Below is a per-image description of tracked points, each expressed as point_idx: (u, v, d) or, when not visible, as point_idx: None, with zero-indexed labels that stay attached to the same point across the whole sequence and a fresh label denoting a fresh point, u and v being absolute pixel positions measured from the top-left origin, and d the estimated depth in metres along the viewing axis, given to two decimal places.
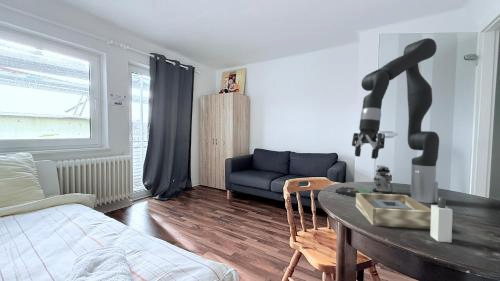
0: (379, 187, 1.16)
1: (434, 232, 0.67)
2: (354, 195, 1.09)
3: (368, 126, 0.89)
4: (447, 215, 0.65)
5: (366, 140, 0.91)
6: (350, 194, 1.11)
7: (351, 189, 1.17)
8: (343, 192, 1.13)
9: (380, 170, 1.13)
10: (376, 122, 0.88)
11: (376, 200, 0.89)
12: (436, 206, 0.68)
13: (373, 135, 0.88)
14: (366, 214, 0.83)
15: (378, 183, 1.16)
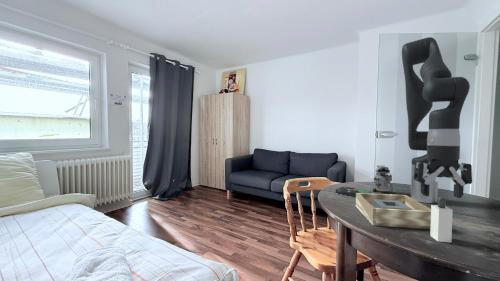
0: (379, 187, 1.16)
1: (434, 232, 0.67)
2: (354, 195, 1.10)
3: (458, 155, 0.63)
4: (447, 215, 0.65)
5: (446, 174, 0.65)
6: (350, 194, 1.11)
7: (351, 189, 1.17)
8: (343, 192, 1.13)
9: (380, 170, 1.13)
10: None
11: (376, 200, 0.89)
12: (436, 206, 0.68)
13: (458, 167, 0.65)
14: (366, 214, 0.83)
15: (378, 183, 1.16)
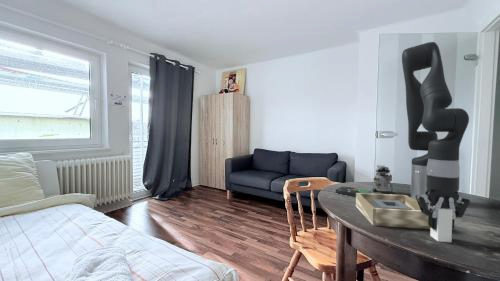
0: (379, 187, 1.16)
1: (434, 232, 0.67)
2: (354, 195, 1.10)
3: (458, 187, 0.63)
4: (447, 215, 0.65)
5: (443, 202, 0.66)
6: (350, 194, 1.11)
7: (351, 189, 1.17)
8: (343, 192, 1.14)
9: (380, 170, 1.13)
10: None
11: (376, 200, 0.89)
12: None
13: (457, 197, 0.65)
14: (366, 214, 0.83)
15: (378, 183, 1.16)
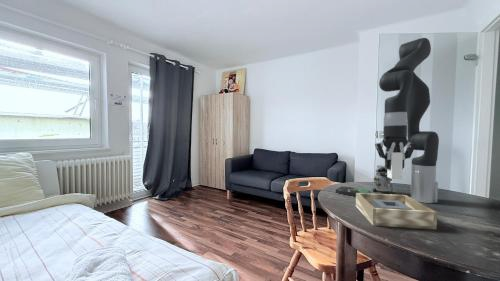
0: (379, 187, 1.16)
1: (389, 172, 0.84)
2: (355, 195, 1.10)
3: (405, 133, 0.80)
4: (398, 157, 0.81)
5: (395, 147, 0.82)
6: (350, 194, 1.11)
7: (350, 189, 1.18)
8: (343, 192, 1.14)
9: (380, 170, 1.13)
10: None
11: (376, 200, 0.89)
12: None
13: (406, 142, 0.81)
14: (366, 214, 0.83)
15: (378, 183, 1.16)
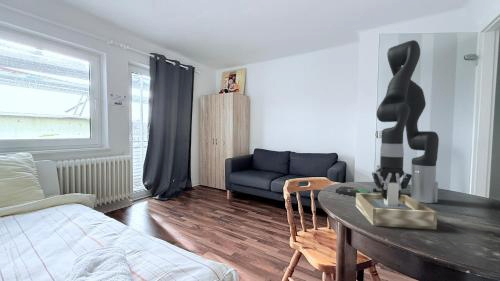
0: None
1: (385, 202, 0.85)
2: (355, 194, 1.10)
3: (401, 164, 0.81)
4: (394, 187, 0.83)
5: (392, 177, 0.83)
6: (351, 194, 1.12)
7: (350, 188, 1.18)
8: (343, 192, 1.14)
9: None
10: None
11: (376, 200, 0.89)
12: None
13: (402, 173, 0.83)
14: (366, 214, 0.83)
15: None
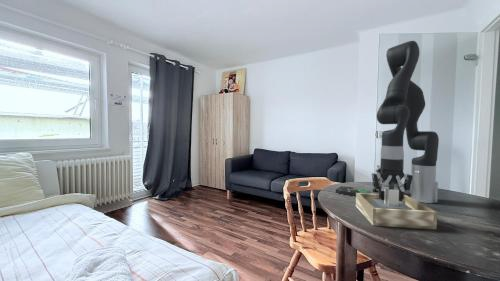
0: None
1: None
2: (355, 194, 1.10)
3: (402, 167, 0.81)
4: (395, 194, 0.83)
5: (393, 180, 0.83)
6: (351, 194, 1.12)
7: (350, 188, 1.18)
8: (343, 192, 1.14)
9: None
10: None
11: (376, 200, 0.89)
12: (387, 188, 0.85)
13: (403, 175, 0.83)
14: (366, 214, 0.83)
15: None
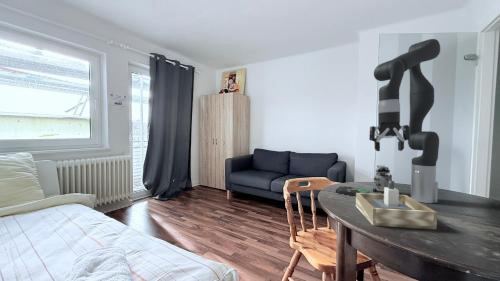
0: (379, 187, 1.16)
1: None
2: (355, 194, 1.11)
3: (398, 119, 0.86)
4: (395, 194, 0.83)
5: (391, 133, 0.88)
6: (351, 193, 1.12)
7: (350, 188, 1.18)
8: (343, 192, 1.14)
9: (380, 170, 1.13)
10: None
11: (376, 200, 0.89)
12: (387, 188, 0.85)
13: (399, 127, 0.88)
14: (366, 214, 0.83)
15: (378, 183, 1.16)
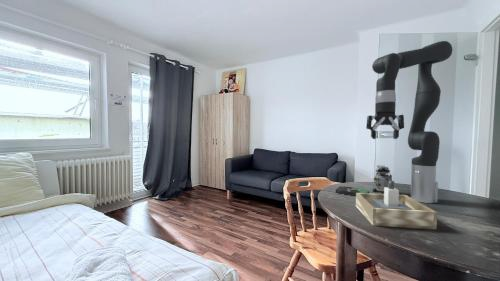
0: (379, 187, 1.16)
1: None
2: (355, 194, 1.11)
3: (394, 108, 0.91)
4: (395, 194, 0.83)
5: (387, 122, 0.94)
6: (351, 193, 1.12)
7: (350, 188, 1.18)
8: (343, 191, 1.14)
9: (380, 170, 1.13)
10: None
11: (376, 200, 0.89)
12: (387, 188, 0.85)
13: (395, 117, 0.93)
14: (366, 214, 0.83)
15: (378, 183, 1.16)
